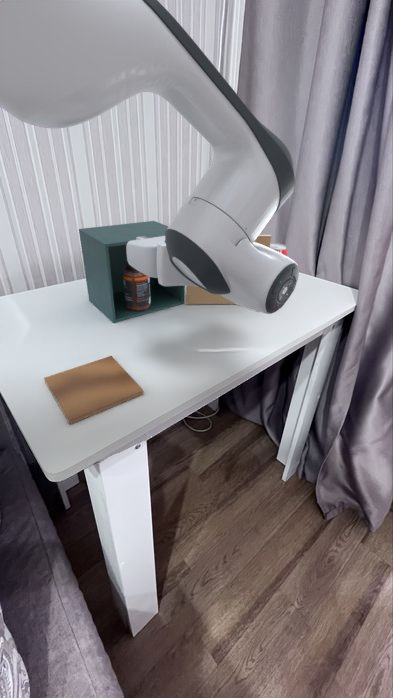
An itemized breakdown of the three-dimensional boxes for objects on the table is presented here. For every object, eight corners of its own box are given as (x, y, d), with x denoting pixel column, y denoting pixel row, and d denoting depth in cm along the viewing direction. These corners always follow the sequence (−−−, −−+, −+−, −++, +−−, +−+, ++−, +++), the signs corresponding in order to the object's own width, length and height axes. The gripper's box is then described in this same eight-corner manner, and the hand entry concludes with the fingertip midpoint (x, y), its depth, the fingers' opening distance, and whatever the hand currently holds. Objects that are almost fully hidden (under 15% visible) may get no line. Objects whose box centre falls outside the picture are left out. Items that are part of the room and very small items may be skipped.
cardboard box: (184, 295, 87) (185, 228, 78) (254, 294, 89) (264, 229, 80) (186, 304, 82) (188, 234, 73) (260, 303, 85) (271, 235, 75)
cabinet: (184, 303, 83) (186, 233, 74) (113, 323, 73) (105, 244, 64) (155, 285, 92) (153, 220, 83) (89, 300, 82) (78, 228, 73)
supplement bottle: (155, 305, 80) (154, 258, 74) (140, 314, 76) (137, 266, 70) (136, 299, 83) (133, 254, 77) (120, 307, 78) (116, 260, 72)
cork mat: (143, 394, 53) (143, 390, 53) (69, 424, 47) (68, 420, 47) (111, 359, 61) (111, 355, 61) (44, 381, 55) (43, 377, 55)
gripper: (256, 229, 56) (206, 214, 66) (152, 246, 46) (109, 225, 55) (252, 265, 60) (204, 247, 69) (154, 289, 49) (113, 263, 58)
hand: (162, 237), depth 62 cm, fingers open, 8 cm apart
